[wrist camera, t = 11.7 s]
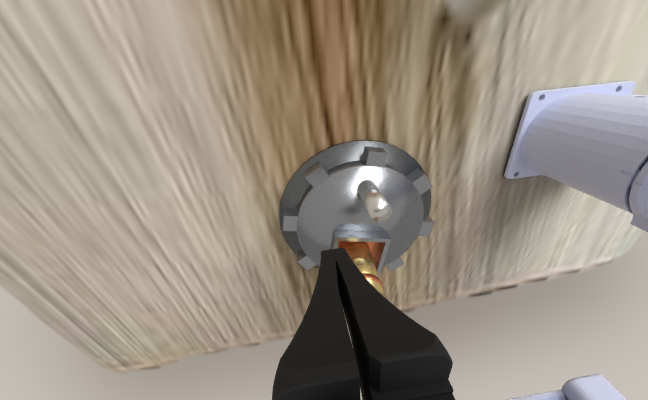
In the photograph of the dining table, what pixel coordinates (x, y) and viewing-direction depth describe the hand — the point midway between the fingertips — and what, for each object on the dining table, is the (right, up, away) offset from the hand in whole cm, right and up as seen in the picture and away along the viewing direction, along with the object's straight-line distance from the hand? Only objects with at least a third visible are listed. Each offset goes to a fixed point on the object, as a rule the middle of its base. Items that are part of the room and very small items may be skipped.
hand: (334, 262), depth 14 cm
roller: (+2, -2, +10) cm, 10 cm away
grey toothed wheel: (+3, +2, +11) cm, 11 cm away
